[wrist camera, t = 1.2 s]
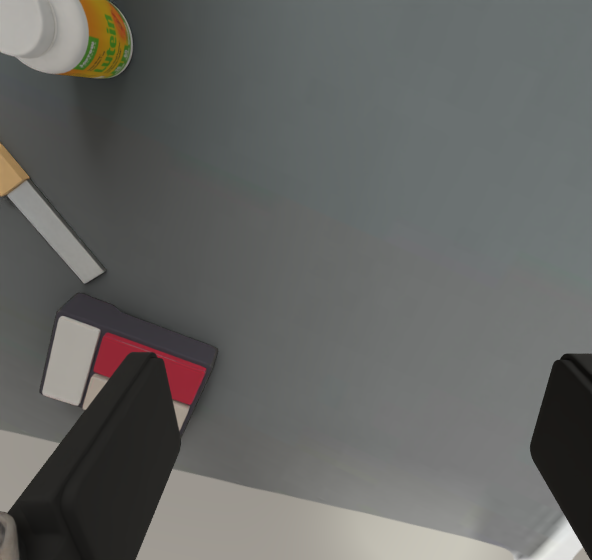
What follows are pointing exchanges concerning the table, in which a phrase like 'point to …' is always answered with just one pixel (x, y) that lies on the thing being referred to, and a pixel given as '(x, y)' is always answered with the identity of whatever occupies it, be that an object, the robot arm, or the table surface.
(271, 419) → the table surface
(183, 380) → the calculator
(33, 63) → the supplement bottle
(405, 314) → the table surface
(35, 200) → the chisel
